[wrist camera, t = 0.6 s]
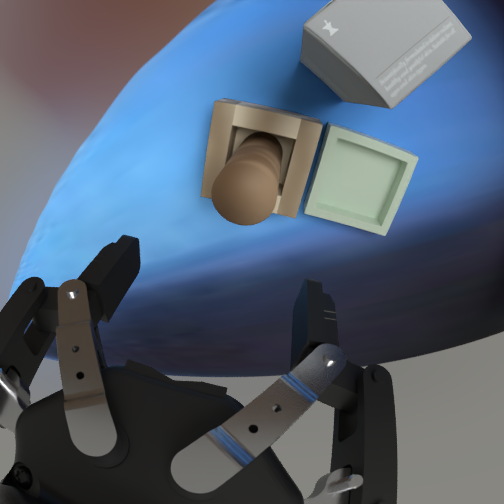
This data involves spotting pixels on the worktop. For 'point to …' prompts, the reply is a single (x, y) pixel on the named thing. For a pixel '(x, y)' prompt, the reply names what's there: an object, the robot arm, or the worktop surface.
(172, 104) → the worktop surface
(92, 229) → the worktop surface
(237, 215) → the dowel
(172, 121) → the worktop surface
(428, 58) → the skincare box
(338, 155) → the tray
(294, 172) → the pocket block
